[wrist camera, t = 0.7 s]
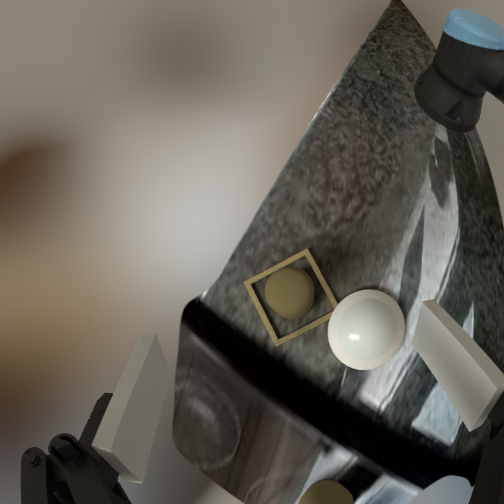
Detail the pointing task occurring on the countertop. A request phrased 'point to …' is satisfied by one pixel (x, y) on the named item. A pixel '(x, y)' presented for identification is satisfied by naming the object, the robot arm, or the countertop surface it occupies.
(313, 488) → the squeeze bottle
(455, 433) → the countertop surface
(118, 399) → the robot arm
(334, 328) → the saucer
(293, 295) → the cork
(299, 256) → the square frame
